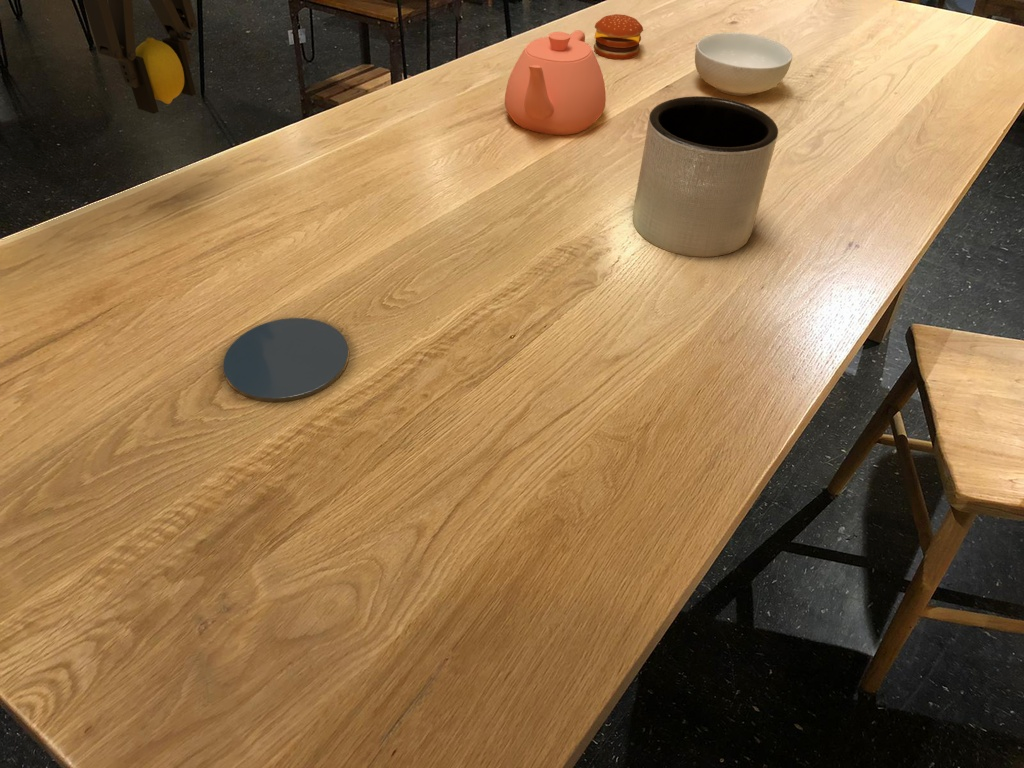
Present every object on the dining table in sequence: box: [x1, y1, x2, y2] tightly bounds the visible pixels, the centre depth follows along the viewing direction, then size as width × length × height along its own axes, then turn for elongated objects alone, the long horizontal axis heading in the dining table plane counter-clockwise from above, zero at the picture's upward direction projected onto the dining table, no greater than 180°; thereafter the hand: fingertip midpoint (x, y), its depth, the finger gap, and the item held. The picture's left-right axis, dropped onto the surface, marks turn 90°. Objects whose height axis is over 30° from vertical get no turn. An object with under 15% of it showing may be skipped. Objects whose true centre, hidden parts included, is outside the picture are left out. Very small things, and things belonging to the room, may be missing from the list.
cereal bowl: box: [694, 32, 793, 97], centre depth 139 cm, size 17×17×7 cm
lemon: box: [135, 37, 184, 105], centre depth 94 cm, size 6×6×8 cm
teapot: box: [504, 29, 607, 136], centre depth 125 cm, size 25×17×13 cm
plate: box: [222, 317, 350, 403], centre depth 82 cm, size 13×13×2 cm
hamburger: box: [593, 13, 644, 60], centre depth 151 cm, size 9×10×7 cm
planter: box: [632, 95, 779, 258], centre depth 99 cm, size 16×16×16 cm
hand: (167, 100), depth 96 cm, fingers closed on lemon, 5 cm apart
